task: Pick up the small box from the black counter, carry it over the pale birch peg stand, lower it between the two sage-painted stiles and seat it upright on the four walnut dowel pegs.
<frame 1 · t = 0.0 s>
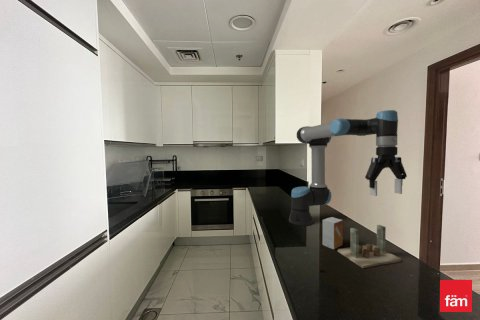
hand: (386, 194, 86), 28 cm above the counter, fingers open, 13 cm apart
peg stand: (367, 256, 87), on the counter
small box: (332, 245, 98), on the counter
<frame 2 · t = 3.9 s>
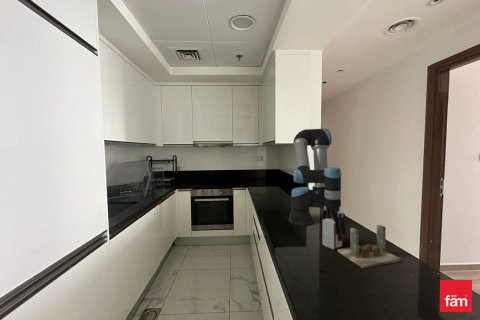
hand: (332, 242, 98), 1 cm above the counter, fingers closed on small box, 8 cm apart
small box: (332, 245, 98), on the counter, touching gripper
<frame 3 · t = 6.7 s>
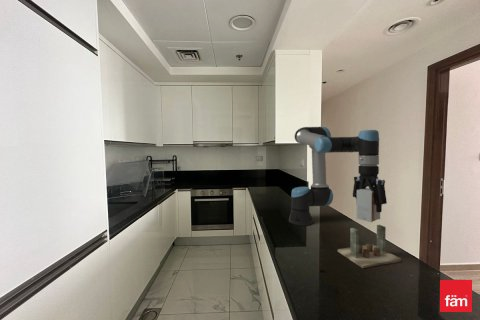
hand: (368, 216, 87), 18 cm above the counter, fingers closed on small box, 8 cm apart
small box: (368, 219, 87), point 17 cm above the counter, touching gripper
when the fingers open (6 cm above the counter, at t = 9.6 s): small box stays where it is, resting on peg stand.
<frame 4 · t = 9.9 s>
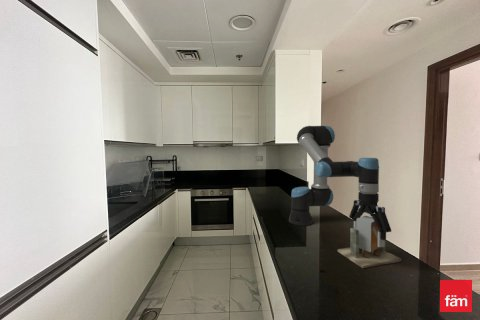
hand: (368, 240, 87), 7 cm above the counter, fingers open, 12 cm apart
small box: (367, 247, 87), point 4 cm above the counter, touching peg stand
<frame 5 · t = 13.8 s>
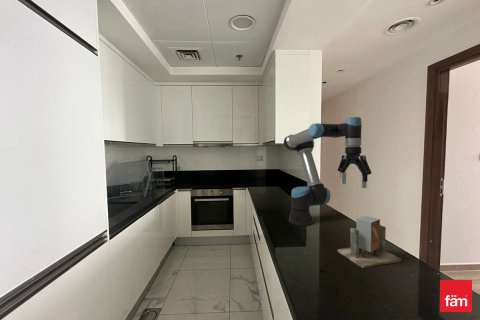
hand: (352, 185, 105), 29 cm above the counter, fingers open, 13 cm apart
nothing on the counter moved.
at the end: small box 0.0 cm off-centre on the peg stand, point 3.8 cm above the peg stand's base; small box tilted 0°; the gripper is holding nothing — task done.
